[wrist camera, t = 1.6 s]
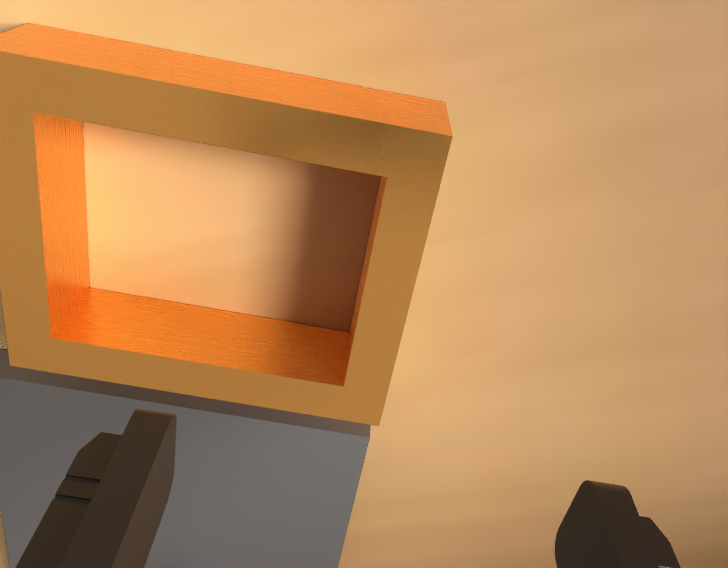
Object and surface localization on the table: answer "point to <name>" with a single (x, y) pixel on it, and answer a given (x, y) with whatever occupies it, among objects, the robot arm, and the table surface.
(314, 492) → the plate
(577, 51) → the table surface
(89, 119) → the link ring
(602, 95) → the table surface
